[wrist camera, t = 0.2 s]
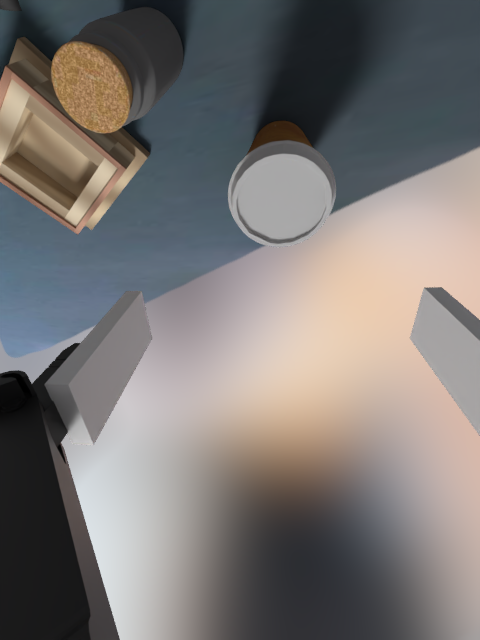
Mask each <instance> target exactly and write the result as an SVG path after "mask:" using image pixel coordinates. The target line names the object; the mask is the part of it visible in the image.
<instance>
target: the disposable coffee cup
mask: <svg viewBox="0 0 480 640" xmlns="http://www.w3.org/2000/svg"><path fill="white" fill-rule="evenodd" d="M335 196H336V182H335V177H334V174H333V171H332V169H331V167H330V165H329V164H328V162H327V161H326V159H325V158H324V157H323V156H322V155H321V154H320V153H319V152H318V151H316V150H315V149H314V148H313V147H312V145H311V144H310V142H309V141H308V139H307V138H306V136H305V134H304V133H303V131H302V130H301V129H300V128H299V127H298V126H297V125H295V124H294V123H291V122H289V121H275V122H271V123H269V124H268V125H266V126H265V127H263V128H262V129H261V130H260V131H259V133H258V134H257V135H256V137H255V139H254V141H253V143H252V145H251V147H250V149H249V151H248V153H247V155H246V157H245V158H244V159H243V160H242V161H241V162H240V163H239V164H238V166H237V167H236V169H235V171H234V173H233V175H232V177H231V180H230V183H229V190H228V201H229V208H230V210H231V213H232V216H233V218H234V219H235V221H236V223H237V224H238V225H239V227H240V228H241V230H242V231H243V232H244V233H245V234H246V235H247V236H248V237H249V238H251V239H253V240H254V241H256V242H258V243H260V244H263V245H266V246H271V247H286V246H292V245H295V244H298V243H301V242H303V241H305V240H307V239H308V238H310V237H311V236H312V235H314V234H315V233H316V232H317V231H318V230H319V229H320V228H321V227H322V225H323V224H324V223H325V221H326V219H327V217H328V216H329V214H330V212H331V210H332V207H333V204H334V201H335Z"/></svg>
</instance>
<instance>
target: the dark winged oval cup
mask: <svg viewBox="0 0 480 640" xmlns="http://www.w3.org/2000/svg"><path fill="white" fill-rule="evenodd" d="M0 9H3V10H9V11H22V10H21V7H20V5H19V2H18V0H0Z"/></svg>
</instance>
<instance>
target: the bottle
mask: <svg viewBox="0 0 480 640" xmlns="http://www.w3.org/2000/svg"><path fill="white" fill-rule="evenodd" d="M182 65H183V47H182V42H181V39H180V36H179V34H178V32H177V30H176V28H175V26H174V25H173V23H172V22H171V21H170V20H169V18H168V17H167V16H165V15H164V14H163V13H161V12H160V11H158V10H156V9H154V8H150V7H140V8H135V9H131V10H128V11H124V12H120V13H117V14H114V15H110V16H107V17H104V18H100V19H98V20H95V21H93V22H91V23H88V24H87V25H86V26H85V27H84V28H83V29H82V30H81V31H80V33H79V34H78V35H76V36H74V37H73V38H72V39H71V40H70V41H69V42H68V43H66V44H64V45H62V46H61V47H60V48H59V49H58V50H57V52H56V53H55V55H54V58H53V61H52V66H51V77H52V83H53V87H54V90H55V93H56V95H57V97H58V99H59V101H60V103H61V104H62V106H63V107H64V109H65V110H66V112H67V113H68V114H69V115H70V116H71V117H72V118H73V119H74V120H75V121H76V122H77V123H79V124H80V125H82V126H83V127H85V128H86V129H89V130H91V131H93V132H97V133H111V132H114V131H116V130H118V129H120V128H121V127H122V126H125V125H127V124H129V123H130V122H131V121H133V120H137V119H139V118H141V117H143V116H144V115H145V114H147V113H148V112H149V111H150V109H151V108H152V107H153V106H154V105H155V104H156V103H157V102H158V101H159V100H160V98H161V97H162V96H163V95H164V94H165V93H166V91H167V90H168V89H169V88H170V87H171V86H172V85H173V83H174V82H175V81H176V79H177V78H178V76H179V74H180V72H181V69H182Z"/></svg>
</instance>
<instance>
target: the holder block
mask: <svg viewBox="0 0 480 640" xmlns="http://www.w3.org/2000/svg"><path fill="white" fill-rule="evenodd" d="M51 66H52V62H51V61H50V60H49V59H48V58H47V57H46V56H45V55H44V54H43V53H42V52H41V51H40V50H38V49H37V48H36V47H35V46H34V45H33V44H32V43H31V42H30V41H29V40H28V39H27V38H26V37H21V38H18V39H17V42H16V45H15V47H14V50H13V53H12V56H11V59H10V62H9V65H6V66H5V69H4V71H3V74H2V77H1V80H0V182H1V183H3V184H4V185H6V186H7V187H9V188H10V189H12V190H13V191H15V192H16V193H18V194H19V195H21V196H22V197H23V198H25V199H26V200H28V201H29V202H31V203H32V204H34V205H35V206H37V207H38V208H40V209H41V210H43V211H44V212H45V213H47V214H48V215H50V216H51V217H53V218H54V219H56V220H57V221H59V222H60V223H62V224H63V225H65V226H66V227H68V228H69V229H70V230H72V231H73V232H75V233H76V234H79V233H80V231H81V230H82V229H83V227H84V226H87V227H88V228H90V229H91V230H92V229H93V228H94V226H95V225H96V224H97V223H98V221H99V220H100V219H101V217H102V216H103V215H104V213H105V212H106V211H107V210H108V208H109V207H110V206H111V204H112V203H113V202H114V201H115V199H116V198H117V197H118V195H119V194H120V193H121V191H122V190H123V189H124V188H125V186H126V185H127V184H128V182H129V181H130V180H131V179H132V177H133V176H134V175H135V173H136V172H137V171H138V169H139V168H140V167H141V166H142V164H143V163H144V162H145V160H146V159H147V158H148V156H149V155H150V153H149V152H148V151H147V150H146V149H145V148H144V147H143V146H142V145H141V144H140V143H138V142H137V141H136V140H135V139H134V138H133V137H132V136H131V135H130V134H129V133H128V132H127V131H126V130H124V129H123V128H122V127H121V128H120V129H118V130H116V131H114V132H111V133H97V132H93V131H91V130H89V129H86V128H85V127H83V126H82V125H80V124H79V123H77V122H76V121H75V120H74V119H73V118H72V117H71V116H70V115H69V114H68V113H67V112H66V110H65V109H64V107H63V106H62V104H61V103H60V101H59V99H58V97H57V95H56V93H55V90H54V87H53V83H52V77H51Z"/></svg>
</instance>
